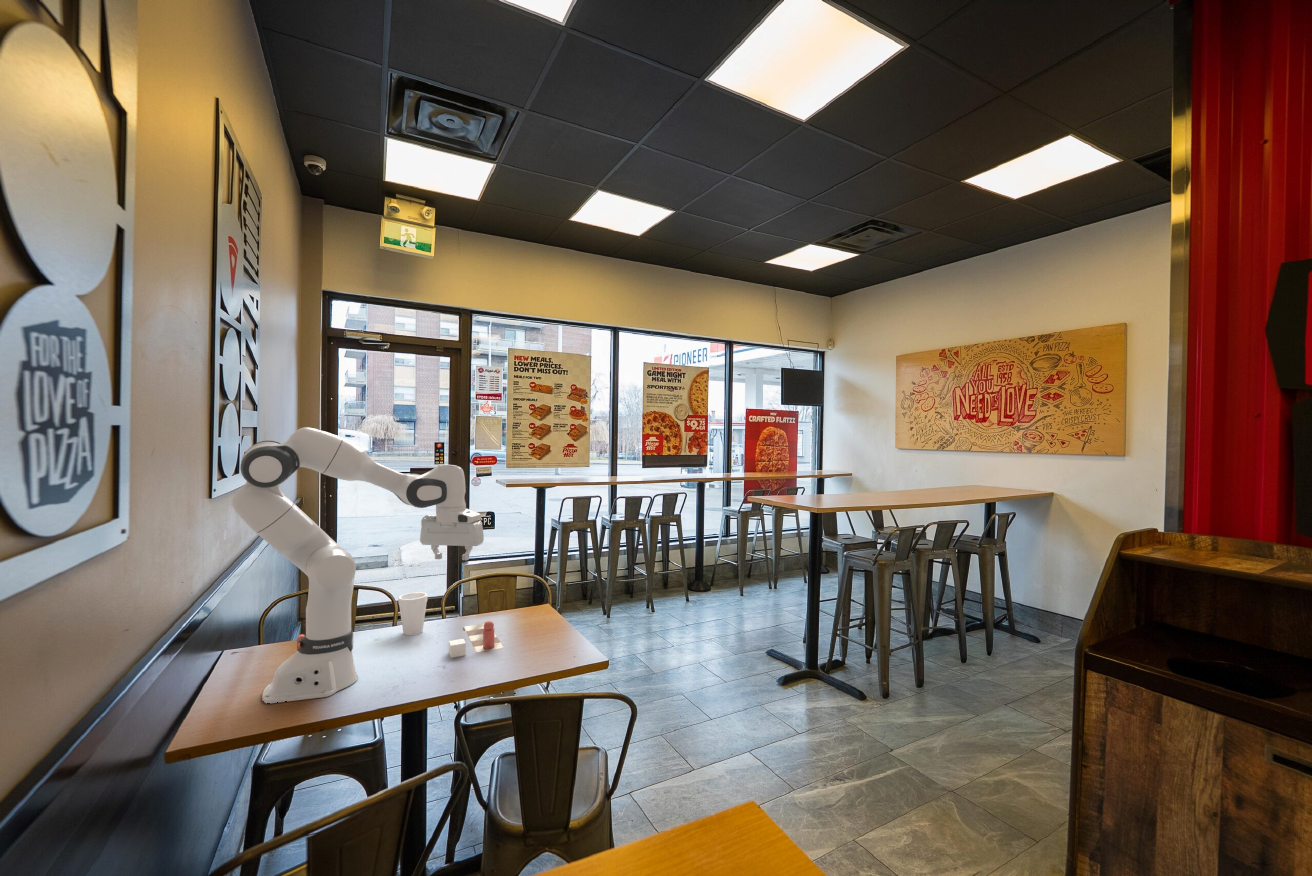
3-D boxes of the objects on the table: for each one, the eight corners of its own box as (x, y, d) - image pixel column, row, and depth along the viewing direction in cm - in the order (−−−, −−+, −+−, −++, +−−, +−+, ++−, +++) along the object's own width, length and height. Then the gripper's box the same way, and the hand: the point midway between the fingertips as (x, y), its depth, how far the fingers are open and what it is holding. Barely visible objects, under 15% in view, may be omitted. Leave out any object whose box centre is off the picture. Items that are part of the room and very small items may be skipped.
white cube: (450, 659, 172) (450, 645, 172) (448, 654, 176) (448, 640, 176) (465, 657, 175) (465, 643, 175) (463, 652, 179) (463, 638, 179)
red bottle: (484, 649, 179) (484, 623, 179) (482, 646, 182) (482, 620, 182) (495, 648, 180) (495, 621, 180) (493, 644, 183) (493, 618, 183)
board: (476, 654, 176) (476, 652, 176) (463, 628, 201) (463, 626, 201) (504, 649, 181) (504, 647, 181) (488, 624, 205) (488, 622, 205)
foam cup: (418, 625, 204) (418, 590, 204) (432, 630, 198) (432, 594, 198) (393, 633, 196) (393, 596, 196) (407, 638, 190) (407, 601, 190)
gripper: (415, 516, 171) (416, 560, 172) (475, 517, 167) (476, 562, 167) (427, 513, 178) (428, 556, 178) (485, 514, 174) (486, 557, 174)
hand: (452, 559), depth 173 cm, fingers open, 8 cm apart
